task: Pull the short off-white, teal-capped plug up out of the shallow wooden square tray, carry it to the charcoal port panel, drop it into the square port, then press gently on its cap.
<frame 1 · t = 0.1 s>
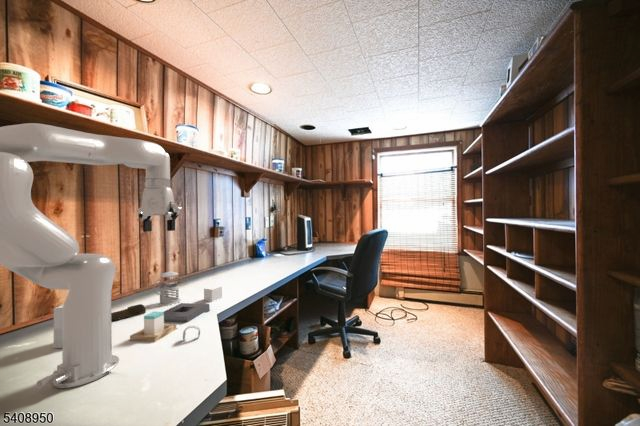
hand: (159, 231, 89), 37 cm above the worktop, tool pointing down, fingers open, 9 cm apart
wristwatch: (191, 342, 80), on the worktop
port panel: (184, 316, 101), on the worktop
french press: (167, 303, 119), on the worktop
white cube: (213, 299, 123), on the worktop
plug: (154, 334, 84), point 1 cm above the worktop, touching wooden square tray
wooden square tray: (154, 336, 84), on the worktop
small box: (75, 342, 82), on the worktop
hand tool: (117, 320, 101), on the worktop
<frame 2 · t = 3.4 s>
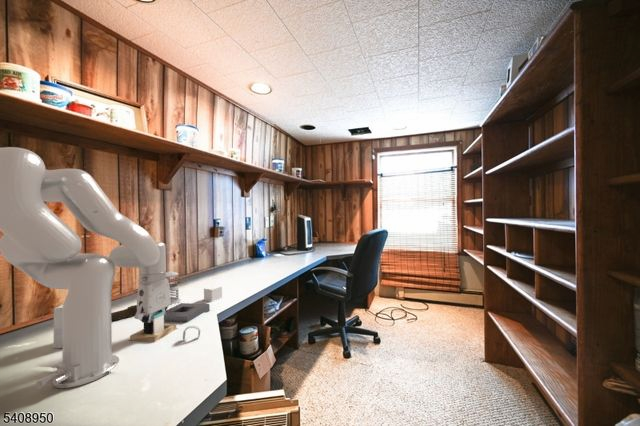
hand: (154, 329, 84), 2 cm above the worktop, tool pointing down, fingers closed on plug, 3 cm apart
plug: (154, 334, 84), point 1 cm above the worktop, touching gripper, wooden square tray
everything else where it was.
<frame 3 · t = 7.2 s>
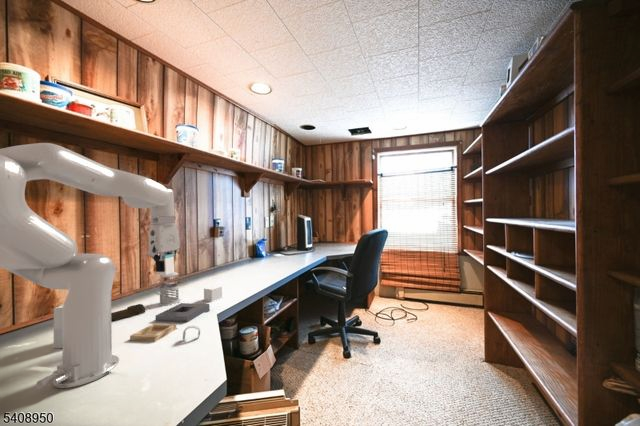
hand: (165, 269, 91), 22 cm above the worktop, tool pointing down, fingers closed on plug, 3 cm apart
plug: (165, 273, 91), point 20 cm above the worktop, touching gripper
everything else where it was.
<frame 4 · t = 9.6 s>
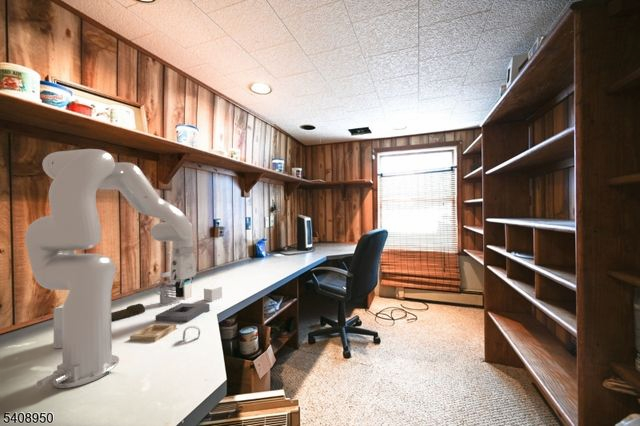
hand: (183, 294, 101), 9 cm above the worktop, tool pointing down, fingers closed on plug, 3 cm apart
plug: (183, 298, 101), point 8 cm above the worktop, touching gripper
everything else where it was.
when the fingers open (4 cm above the worktop, at t = 11.4 s): plug drops 2 cm, resting on port panel.
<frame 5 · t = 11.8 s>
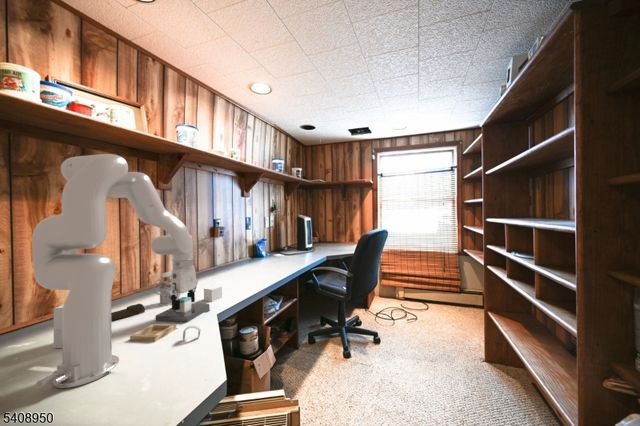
hand: (183, 305, 101), 5 cm above the worktop, tool pointing down, fingers open, 8 cm apart
plug: (183, 315, 101), resting on port panel
everything else where it was.
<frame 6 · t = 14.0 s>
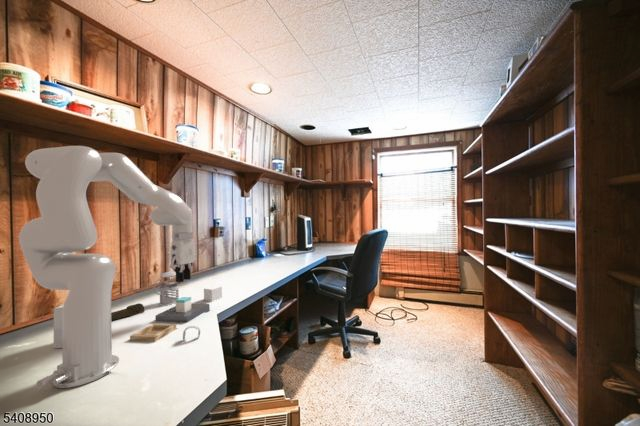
hand: (183, 280, 102), 15 cm above the worktop, tool pointing down, fingers open, 3 cm apart
nothing on the worktop moved.
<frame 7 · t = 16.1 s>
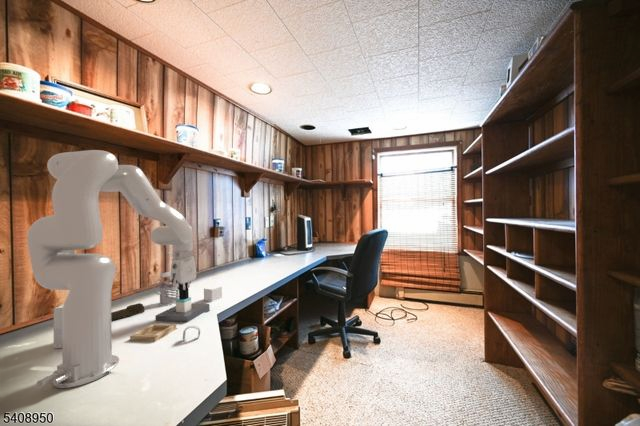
hand: (183, 298, 101), 8 cm above the worktop, tool pointing down, fingers closed
plug: (183, 315, 101), resting on port panel, touching gripper
everything else where it was.
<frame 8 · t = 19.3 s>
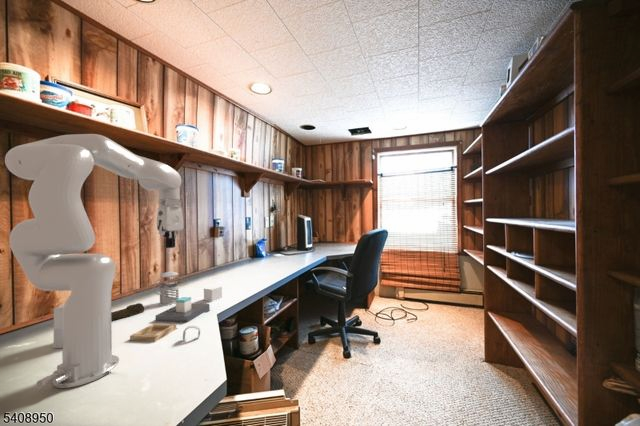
hand: (170, 247, 102), 29 cm above the worktop, tool pointing down, fingers closed
plug: (183, 315, 101), resting on port panel
at the end: plug 0.1 cm off-centre on the port panel, point 0.5 cm above the port panel's base; plug tilted 0°; the gripper is holding nothing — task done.
